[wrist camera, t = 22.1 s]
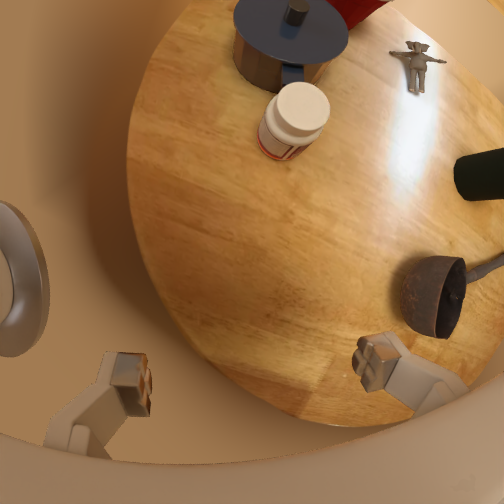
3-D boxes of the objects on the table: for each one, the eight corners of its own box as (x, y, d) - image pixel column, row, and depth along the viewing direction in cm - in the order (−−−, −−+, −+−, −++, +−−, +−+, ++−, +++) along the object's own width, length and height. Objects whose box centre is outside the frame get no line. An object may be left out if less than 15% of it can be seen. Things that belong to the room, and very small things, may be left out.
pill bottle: (303, 118, 35) (334, 81, 24) (304, 163, 35) (338, 139, 24) (256, 114, 34) (271, 72, 23) (255, 160, 35) (271, 132, 24)
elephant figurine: (383, 83, 36) (386, 33, 32) (390, 90, 40) (393, 45, 36) (445, 95, 31) (446, 43, 27) (445, 102, 35) (446, 55, 31)
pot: (230, 107, 34) (234, 76, 25) (236, 11, 32) (240, -25, 24) (325, 116, 35) (351, 91, 27) (317, 20, 34) (334, -11, 25)
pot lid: (229, 62, 26) (231, 41, 22) (235, -14, 25) (238, -35, 21) (351, 78, 27) (366, 62, 23) (338, 1, 26) (349, -16, 22)
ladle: (383, 262, 35) (446, 276, 26) (486, 218, 49) (522, 222, 39) (384, 339, 38) (437, 364, 29) (485, 268, 51) (520, 275, 42)
